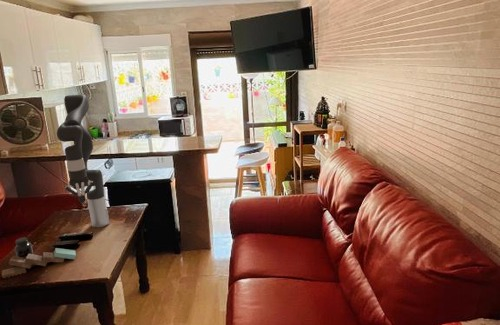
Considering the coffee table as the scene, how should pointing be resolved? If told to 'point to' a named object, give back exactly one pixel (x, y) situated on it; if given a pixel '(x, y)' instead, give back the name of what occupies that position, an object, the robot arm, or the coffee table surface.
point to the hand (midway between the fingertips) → (82, 202)
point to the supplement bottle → (23, 247)
